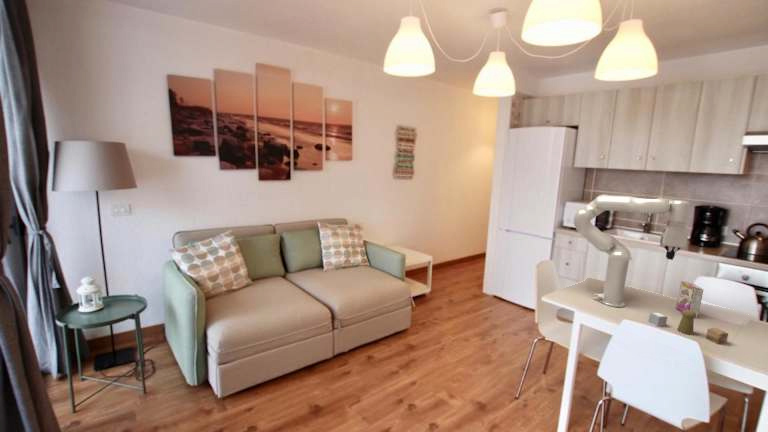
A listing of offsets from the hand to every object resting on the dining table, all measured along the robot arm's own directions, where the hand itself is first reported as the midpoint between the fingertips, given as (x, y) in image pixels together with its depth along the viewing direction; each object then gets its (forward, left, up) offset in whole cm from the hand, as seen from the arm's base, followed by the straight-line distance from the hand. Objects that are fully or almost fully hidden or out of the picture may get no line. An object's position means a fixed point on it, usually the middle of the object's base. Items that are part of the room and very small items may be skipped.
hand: (669, 258), depth 185 cm
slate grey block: (-6, -13, -31) cm, 34 cm away
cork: (+4, -18, -31) cm, 36 cm away
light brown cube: (+14, -23, -31) cm, 41 cm away
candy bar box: (+16, +8, -31) cm, 36 cm away
